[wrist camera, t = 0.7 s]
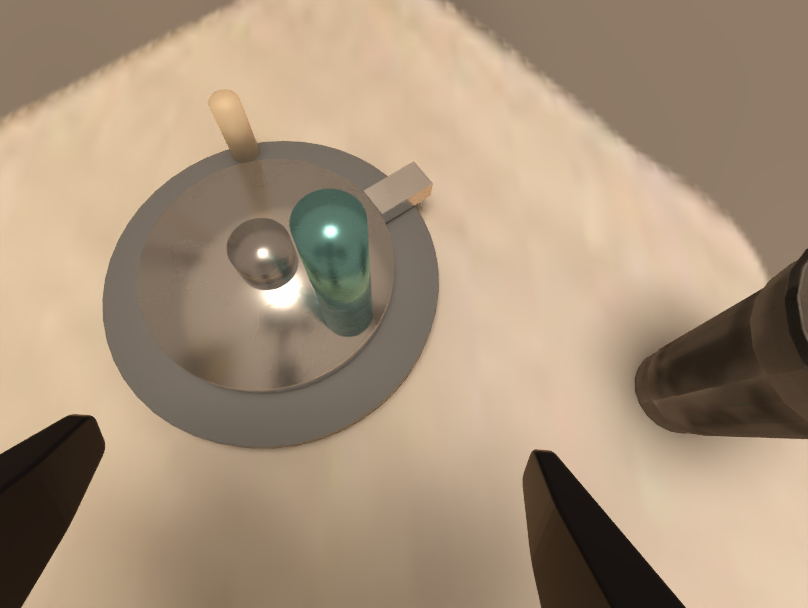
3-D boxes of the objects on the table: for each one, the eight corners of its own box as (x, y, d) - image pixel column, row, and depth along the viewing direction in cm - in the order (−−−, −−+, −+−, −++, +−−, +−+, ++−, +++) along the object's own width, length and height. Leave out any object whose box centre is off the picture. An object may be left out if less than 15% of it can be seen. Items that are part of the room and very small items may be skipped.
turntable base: (398, 484, 22) (403, 490, 17) (59, 404, 23) (-35, 386, 18) (459, 189, 29) (477, 129, 23) (190, 131, 29) (149, 60, 24)
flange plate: (377, 424, 22) (373, 391, 12) (106, 361, 22) (-105, 281, 12) (434, 178, 27) (464, 18, 17) (212, 131, 27) (120, -52, 17)
